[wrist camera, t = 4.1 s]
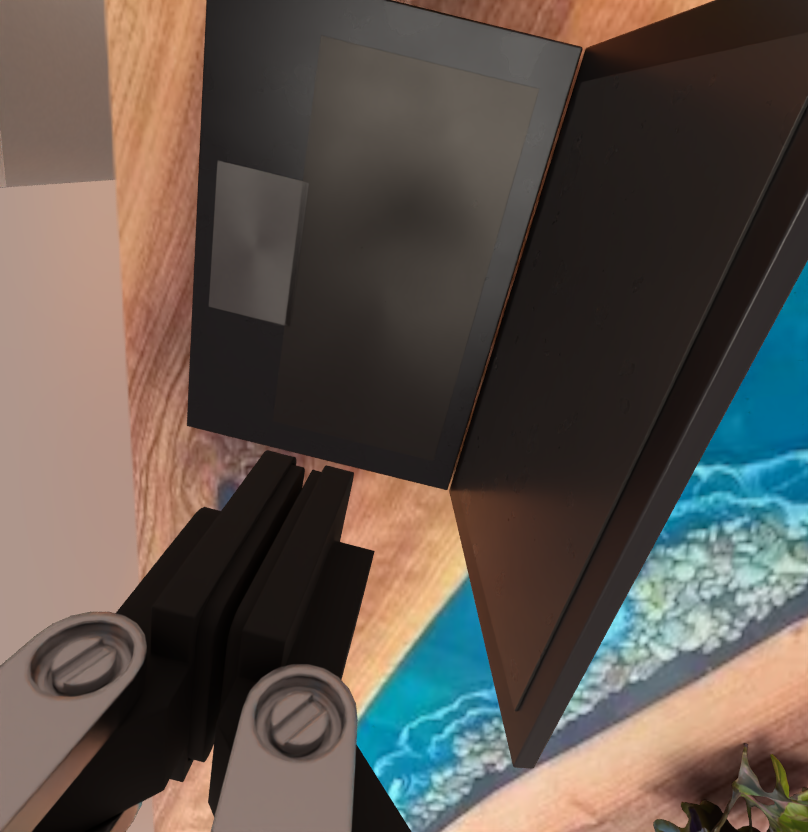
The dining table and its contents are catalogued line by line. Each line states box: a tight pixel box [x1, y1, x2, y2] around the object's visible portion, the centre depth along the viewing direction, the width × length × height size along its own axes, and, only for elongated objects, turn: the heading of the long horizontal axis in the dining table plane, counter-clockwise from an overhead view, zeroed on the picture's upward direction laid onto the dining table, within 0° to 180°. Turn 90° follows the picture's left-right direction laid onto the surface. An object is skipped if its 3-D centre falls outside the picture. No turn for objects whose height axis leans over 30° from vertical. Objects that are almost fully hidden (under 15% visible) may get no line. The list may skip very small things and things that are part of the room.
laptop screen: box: [449, 0, 808, 768], centre depth 22 cm, size 17×24×1 cm
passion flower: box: [653, 744, 808, 832], centre depth 42 cm, size 11×11×12 cm
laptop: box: [187, 0, 582, 490], centre depth 30 cm, size 17×24×2 cm
